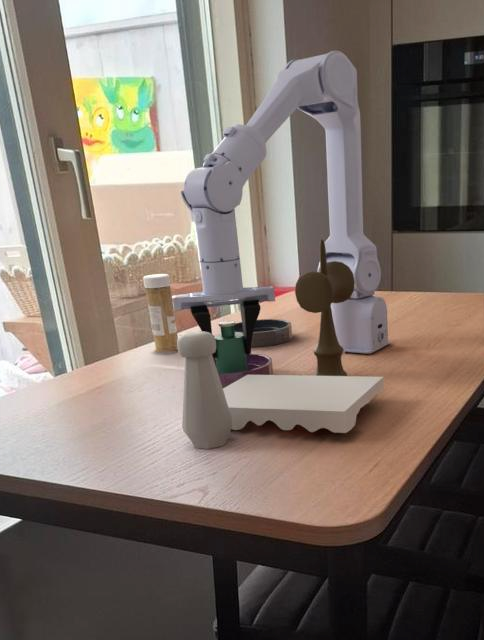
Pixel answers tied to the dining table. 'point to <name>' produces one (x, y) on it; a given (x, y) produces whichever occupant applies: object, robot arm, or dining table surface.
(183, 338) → the salt shaker
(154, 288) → the sprinkles bottle
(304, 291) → the kendama
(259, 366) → the bowl plum
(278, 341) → the bowl charcoal
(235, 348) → the bottle
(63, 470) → the dining table surface
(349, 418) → the scalloped display plinth
